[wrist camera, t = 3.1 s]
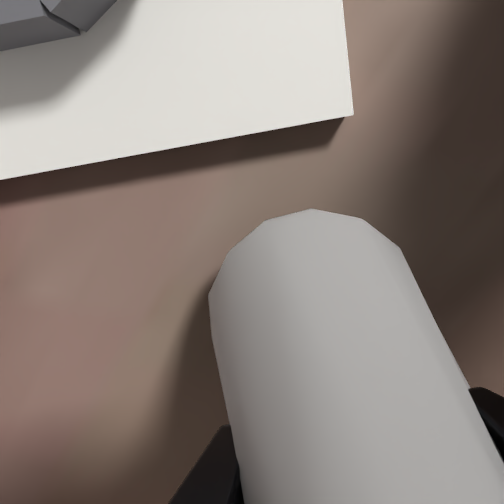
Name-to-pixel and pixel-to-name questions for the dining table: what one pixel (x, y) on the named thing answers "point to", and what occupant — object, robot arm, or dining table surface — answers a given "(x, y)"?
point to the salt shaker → (342, 373)
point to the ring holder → (161, 75)
